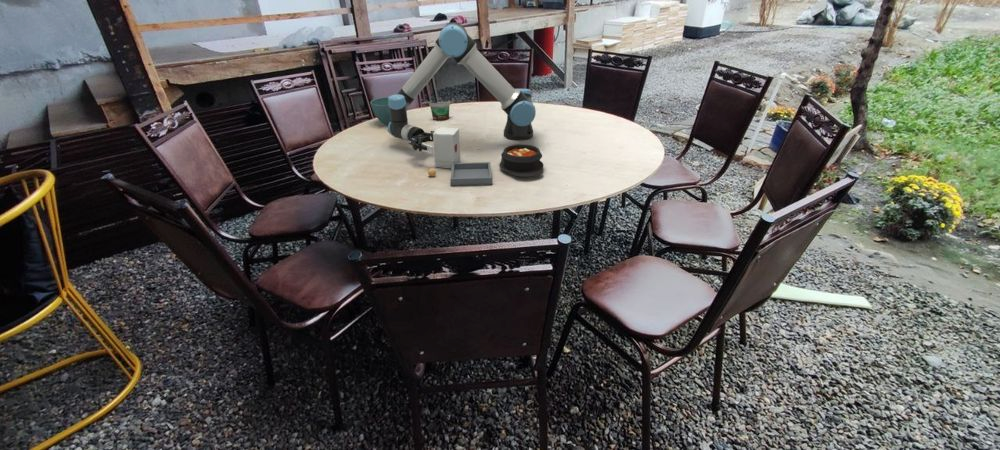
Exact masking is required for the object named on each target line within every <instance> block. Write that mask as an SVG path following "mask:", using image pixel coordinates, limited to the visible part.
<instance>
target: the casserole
mask: <svg viewBox="0 0 1000 450" xmlns="http://www.w3.org/2000/svg"><path fill="white" fill-rule="evenodd" d="M500 155H501V159H500V162H499V167H500V169H501V170H503V171H505V172H507V173H510V174H512V175H514V176H515V177H518V178H531V177H536V176H540V175H542V174H544V170H543V168H544V163H543V161H542V160H541V159H542V158H543V154H542V152H541V149H540V148H539V147H537V146H535V145H532V144H524V143H520V144H519V143H518V144H516V143H515V144H511V145H508V146H506V147H504V149H503V151H502V152H501V154H500Z"/></svg>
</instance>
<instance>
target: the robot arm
mask: <svg viewBox="0 0 1000 450" xmlns="http://www.w3.org/2000/svg"><path fill="white" fill-rule="evenodd" d="M448 59H452V60H453V61H454V63H456V64H457V65H463V66H464V67H465V68H466V69H467V70H468V71H469V72H470V73H471V74H472V75H473V76H474V77H475V78H476V80H478V81H479V82H480V84H482V86H484V87H485V89H487V90H488V92H489V93H490V94H492V96H493V97H495V99H496V100H497V101H498V102H499V103H500V104H501V105H500V107H501V110H502V111H504V113H505V114H506V116H507V117H506V123H505V126H504V128H503V138H506V139H508V140H512V141H525V140H531V139H532V138H534V133H535V132H534V128H533V124H532V123H533V121H534V119H535V118H536V106H535V105H534V103H533V101H532V90H531V89H529V88H514V87H513V86H512V84H510V83H509V82H508V81H507V79H505V77H504V76H503V75H502V74H501V73H500V72H499V71H498V70H497V69H496V68H495V67H494V66H493V65H492V63H491V62H490V61H489V60H488V59H486V57H485V56H484V55H483V54H482V53H481V52H480V51H479V50H478V48H477V42H476V41H475V40H474V39H473V38H472V37H471V36H470V35H469V33H467V30H466V28H465V27H464V26H463V25H462V24H461V23H459V22H455V21H454V22H449V23H447V24H445V25H444V26H443V27H442V30H440V32H439V35H438V37H437V39H436V40H435V42H434V46H433V47H432V48H431V51H429V53H428V54H427V55H426V56H425V58H424V59H423V60H422V62H421V63H420V64H419V65H418V67H417V68H416V69H415V70H414V72H413V73H412V74H411V76H410V77H409V78H408V79H407V81H406V82H405V84H403V86H402V87H401V88H400V89H399V91H398V92H397V93H395V94H392V95H389V96H387V97H388V105H389V110H390V117H391V121H390V122H389V124H388V126H387V131H388V133H389V134H390V135H391V136H392V137H394V138H395V139H399V140H403V141H406V142H408V144H409V145H410V146H411V147H412V149H413V150H414V151H415V152H416V151H418V152H422V151H425V152H427V153H430V154H434V145H433V146H432V145H429V144H427V143H428V142H433V133H434V132H435V131H434V130H430V132H426V131H424V129H423V128H422V127H419V126H415V125H412V124H409V122H408V112H407V110H408V108H409V107H410V106H411V104H412V103H413V102H414V101H415V99H416V98H417V96H418V95H419V94H420V93H421V92H422V91H423V89H424V88H425V87H426V86H427V85H428V84H429V82H430V81H431V79H433V77H434V76H435V75H436V74H437V72H438V71H439V70H440V68H442V66H443V65H444V63H445V62H446V61H447V60H448Z"/></svg>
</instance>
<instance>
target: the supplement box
mask: <svg viewBox="0 0 1000 450" xmlns="http://www.w3.org/2000/svg"><path fill="white" fill-rule="evenodd" d="M432 142H433V150H434V153H433V155H434V167H435V168H442V169H443V168H444V169H451V168H452V163H461V146H460V143H461V142H460V128H457V127H446V126H445V127H444V126H439V127H438V128H437V129H435V131H434V133H433V141H432Z"/></svg>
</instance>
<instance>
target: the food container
mask: <svg viewBox="0 0 1000 450" xmlns="http://www.w3.org/2000/svg"><path fill="white" fill-rule="evenodd" d="M450 105H451V101H450V99H448V100H446V101H437V102H431V101H430V102H429V104H428V106H429V107H430V111H431V117H432V120H433V121H437V122H442V121H443V122H444V121H448V120H449V119H450Z"/></svg>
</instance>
